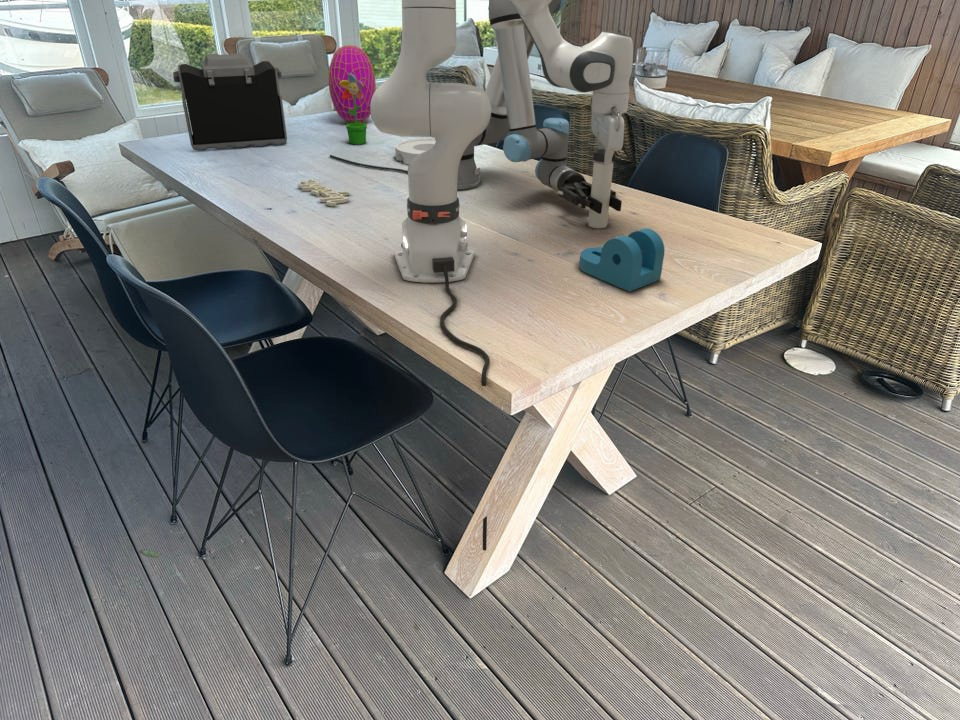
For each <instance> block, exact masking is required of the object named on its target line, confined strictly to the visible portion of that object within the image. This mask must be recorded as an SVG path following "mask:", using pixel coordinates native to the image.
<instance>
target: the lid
mask: <svg viewBox="0 0 960 720" xmlns="http://www.w3.org/2000/svg"><path fill="white" fill-rule="evenodd" d="M592 154H593V156H592V160H593V162H594V161H597V162H603V160H604V156H605V149H600V150H598V149H595V150H593V153H592ZM615 160H616V151H614V154H613V157H612V162H615Z"/></svg>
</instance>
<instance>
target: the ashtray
mask: <svg viewBox="0 0 960 720" xmlns="http://www.w3.org/2000/svg"><path fill="white" fill-rule="evenodd" d="M435 143H436V140H435V138H416V139H415V138H414V139H408V140H404V141H399V142H398V143H396V144H395V146H394V150H395V151H394V152H395V153H394V154H395V160H396V161H397V162H403V164H404V165H408V166H409V164H410V162H411V161H412V159H414V158H415V157H416V156H418V155H419V154H421V153H423V152H425V151H427V150H429V149H431V148H432V147H433V146H434V145H435Z"/></svg>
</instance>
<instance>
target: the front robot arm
mask: <svg viewBox="0 0 960 720" xmlns="http://www.w3.org/2000/svg"><path fill="white" fill-rule="evenodd" d="M511 1H512V3H513V5H514V6H515V8H516V9H517V11H518V13H519V14H520V17H521V19H522V21H523V23H524V25H525V27H526V29H527V31H528V32H529V34H530V36H531V38H532V40H533V42H534V46H535V48H536V50H537V52H538V54H539V58H540V63H541V69H542V73H543V76H544V78H545V80H546V81H547V82H548V84H550V85H551V86H553V87H556V88H563V89H567V90H570V91H574V92H578V93H581V94H582V93H583V94H584V93H591V92H592V95H591V96H590V100H589V105H590V107H591V108H590V109H591V121H590V125H591V127H590V128H591V133H592V135H593V136H594V137H595V138H596V139H597V141H596V143H597V150H600V149H605V156H604V160H603V162H604V163H605V164H611V163H612V157H613V154H614V152H617V151H618V152H619V151H622V149H623V146H624V137H625V120H624V116H622V115H623V114H626V113H627V112H628V108H629V100H630V99H629V98H630V78H631V76H632V72H633V65H634V64H633V63H634V43H633V39H632V37H631V36H630V35H629V34H627V33H623V32H618V31H612V30H603V31H601V32H600V34H599V35H598V36H597V37H596V38H594V39H593V40H591V41H590V42H588V43H586V44H585V45H582V46H577V45H574V44H572V43H570V42H568V41H567V40H565V39H564V38H563V37H562V35H561V32H560V30H559V29H558V27H557V25H556V22H555V20H554V18H553V17H552V15H551V14H550V12H549V8H548V4H549V3H550V2H551V1H552V0H511ZM456 48H457V0H401V46H400V53H399V57H398V60H397V63H396V65H395V67H394V69H393V71H392V72H391V74H390V75H389V76H388V78H387V79H386V80H385V81H384V82H383V83H382V84H381V85H379V86H378V87H376V91H375V93H374V94H373V96H372V99H371V104H370V112H371V114H370V117H371V120H372V122H373V125H374V126H375V128H377V130H378V131H379V132H380V133H382V134H386V135H391V136H396V137H401V138H431V139H435V140H436V143H435V145H434V146H433V147H432V148H431V149H429V150H427V151H425V152H423V153H421V154H419V155H418V156H416V157H415V158H414V159H412V161H411V162H410V164H409V165H408V168H407V171H408V173H407V184H408V186H407V187H408V198H407V199H406V211H407V213H406V214H407V217H406V218H405V219H404V220H403V221H402V223H401V231H402V242H401V244H400V247H401V249H400V250H397V251H395V252H394V259H395V262H396V264H397V267H398V269H399V272H400V274H401V277H402V279H403V280H405V281H408V282H414V283H431V284H433V283H435V284H437V283H444V286H445V291H446V293H447V295H448V296H449V297H450V298H451V300H452V304H451V305H450V306H449V307H448V308H447V309H446V310H445V311H443V312H442V314H441V315H440V317H439V318H440V319H439V324H440V328H441V329H442V331H443V332H444V333H445V334H446V335H447V336H448V337H449V338H450V339H451V340H452V341H454V342H455V343H457V344H459V345H461V346H463V347H465V348H468V349H470V350H473V351H476V352H477V353H479V354H480V355H481V356H482V357H483V359H484V360H485V361H484V364H483V367H482V369H481V386H482V387H487V372H488V369H489V367H490V362H491V361H490V360H491V359H490V357H489V355H488V354H487V352H486V351H485V350H483V349H482V348H481V347H479V346H476V345H475V344H472V343H469V342H466V341H464V340H461V339H460V338H458V337H456V336H455V335H454V334H453V333H452V332H451V331H449V329H448V328H447V326H446V324H445V318H446V317H447V315H448V314H450V312H452V311H453V310H454V309H455V308H456V306H457V305H458V299H457V297H456V296H455V295H454V294H453V293H452V291H451V289H450V283H451V282H457V281H461V280H464V279H466V277H467V274H468V273H469V269H470V267H471V265H472V262H473V260H474V257H475V251H473V250H471V249H468V245H469V243H468V242H467V241H466V238H467V236H468V232H467V225H466V221H465V220H464V219H463V218H461V216H460V208H461V207H460V206H461V205H460V198H459V197H458V190H457V180H458V168H459V163H460V160H461V157H462V155H463V153H464V151H465V149H466V148H467V146H468V145H469V144H470V143H471V141H472V140H473V139H475V138H476V137H477V136H478V135H480V134H481V133H482V132H483V131H484V130H485V129H486V127H487V125H488V123H489V121H490V117H491V104H490V100H489V98H488V96H487V94H486V93H485V91H486V90H484V89H483V88H482V87H480V86H476V85H471V84H467V83H462V82H430V81H428V80H427V76H428V73H429V72H430V71H431V70H432V69H433V68H436V67H437V66H439V65H441V64H443V63H445V62H446V61H448V60H449V59H450V58H451V57H452V56H453V55H454V53H455V51H456ZM487 534H488V515H486V516H485V517H484V518H482V551H484V552H485V551H487V538H488V537H487V536H488V535H487Z"/></svg>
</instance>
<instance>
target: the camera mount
mask: <svg viewBox="0 0 960 720" xmlns="http://www.w3.org/2000/svg"><path fill="white" fill-rule="evenodd" d="M664 258H665V245H664V241H663V239H662V238H661V236H660V234H659V233H658V232H657V231H655V230H654V229H651V228H641V229H638V230H635V231H632V232H630V233H629V234H628V235H620V236H617V237H612V238H610V239H608V240H606V241H605V242H604V244H603V245H602V246H593V247H588V248H584V249H583V250H581V251H580V253H579V264H578V268H579V270H581V271H582V272H583V273H584V274H588V275H589V276H591V277H594V278H597V279H599V280H601V281H603V282H606V283H608V284H611V285H612V286H615V287H617V288H619V289H622V290H624V291H627V292H632V291H635V290H638V289H640V288H642V287H645V286H648V285H651V284H653V283H655V282H659V281H660V280H661V278H662V271H663V266H664Z"/></svg>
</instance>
